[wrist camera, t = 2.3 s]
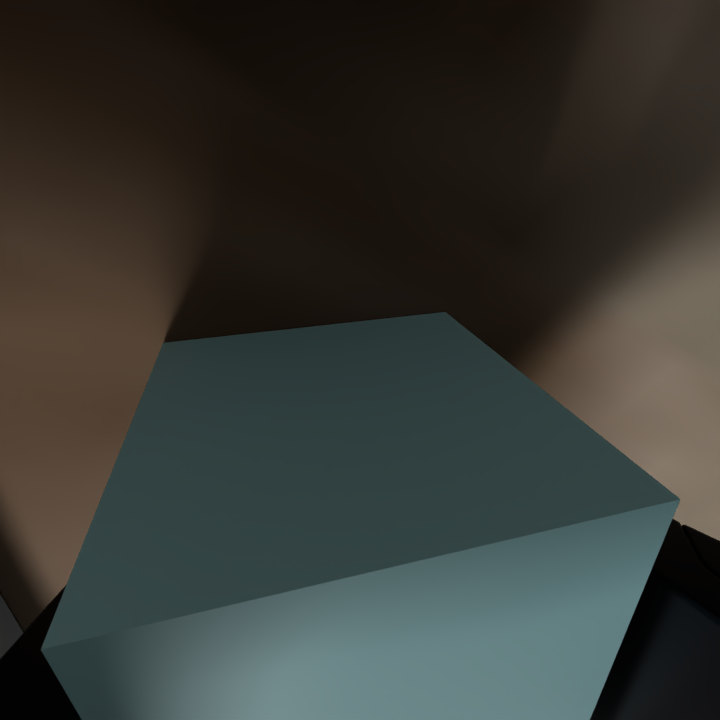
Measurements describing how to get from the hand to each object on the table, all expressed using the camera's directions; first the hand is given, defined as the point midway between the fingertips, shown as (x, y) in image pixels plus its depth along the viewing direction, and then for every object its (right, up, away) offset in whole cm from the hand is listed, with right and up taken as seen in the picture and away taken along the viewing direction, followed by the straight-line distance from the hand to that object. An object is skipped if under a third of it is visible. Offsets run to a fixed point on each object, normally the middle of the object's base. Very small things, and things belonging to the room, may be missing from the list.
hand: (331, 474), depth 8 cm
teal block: (0, 0, +1) cm, 1 cm away
